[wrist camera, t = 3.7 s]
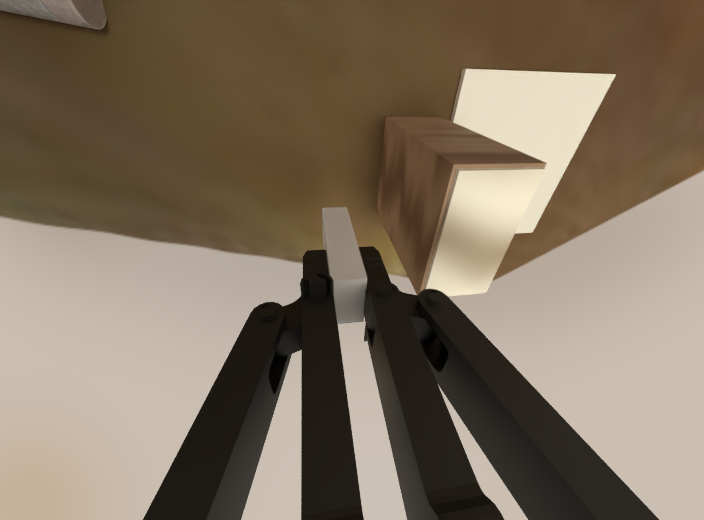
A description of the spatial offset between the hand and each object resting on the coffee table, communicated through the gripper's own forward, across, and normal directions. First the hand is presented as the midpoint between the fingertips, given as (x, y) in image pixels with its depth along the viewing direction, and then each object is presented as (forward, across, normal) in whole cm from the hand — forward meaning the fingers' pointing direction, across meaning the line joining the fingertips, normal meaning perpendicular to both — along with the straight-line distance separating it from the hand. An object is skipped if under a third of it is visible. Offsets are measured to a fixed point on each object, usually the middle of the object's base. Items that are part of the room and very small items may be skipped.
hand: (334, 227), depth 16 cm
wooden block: (+11, +8, 0) cm, 13 cm away
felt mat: (+11, +18, 0) cm, 21 cm away
